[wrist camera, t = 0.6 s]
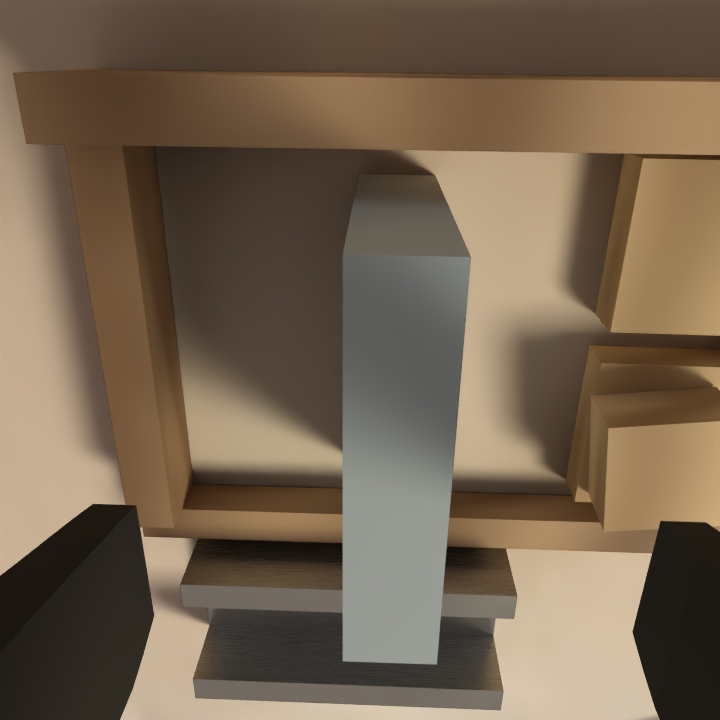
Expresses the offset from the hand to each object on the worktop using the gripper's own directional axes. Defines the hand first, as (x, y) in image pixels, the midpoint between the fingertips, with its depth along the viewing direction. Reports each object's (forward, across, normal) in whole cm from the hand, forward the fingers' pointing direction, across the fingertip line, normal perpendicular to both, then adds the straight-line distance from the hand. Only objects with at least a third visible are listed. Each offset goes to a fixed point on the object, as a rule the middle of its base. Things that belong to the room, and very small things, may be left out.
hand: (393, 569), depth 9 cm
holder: (+9, +1, +9) cm, 12 cm away
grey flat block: (+9, 0, 0) cm, 9 cm away
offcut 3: (+8, -7, +2) cm, 11 cm away
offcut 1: (+9, -7, -3) cm, 12 cm away
